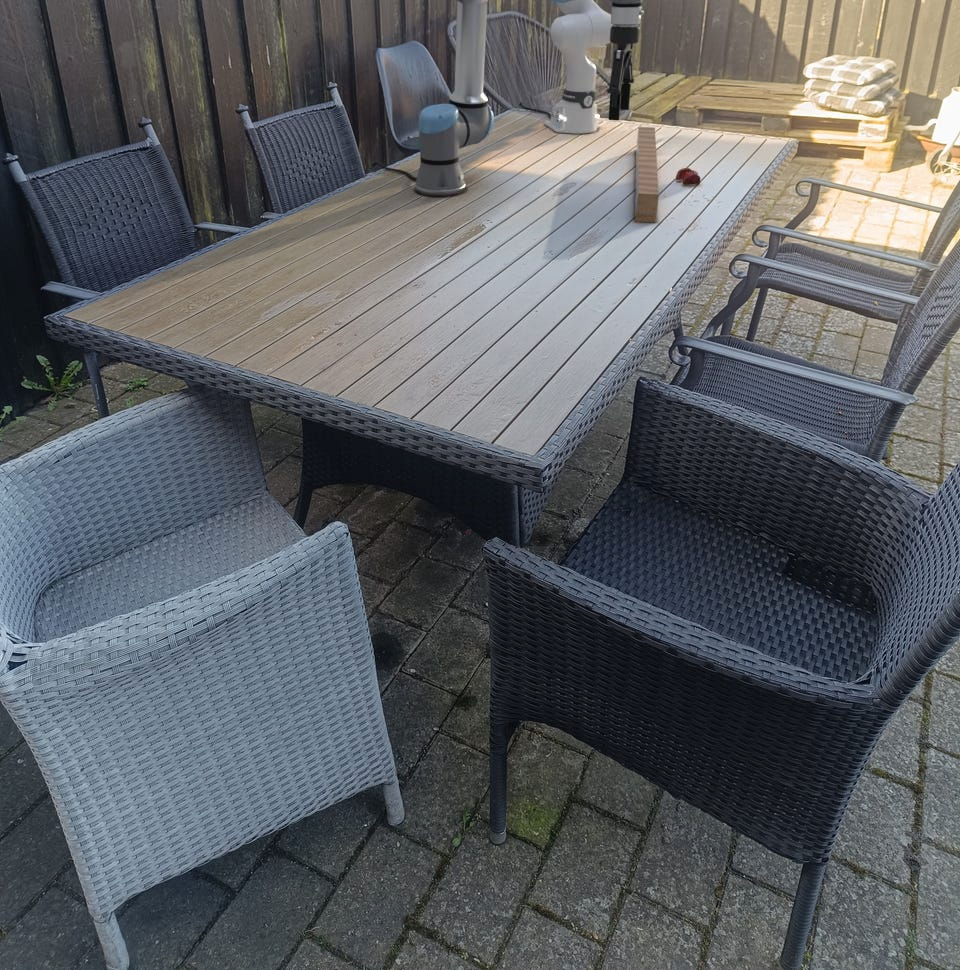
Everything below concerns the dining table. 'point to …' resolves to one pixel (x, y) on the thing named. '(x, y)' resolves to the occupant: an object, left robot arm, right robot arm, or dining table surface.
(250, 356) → the dining table surface
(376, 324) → the dining table surface
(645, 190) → the beam
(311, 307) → the dining table surface
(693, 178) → the dark red lumpy piece
